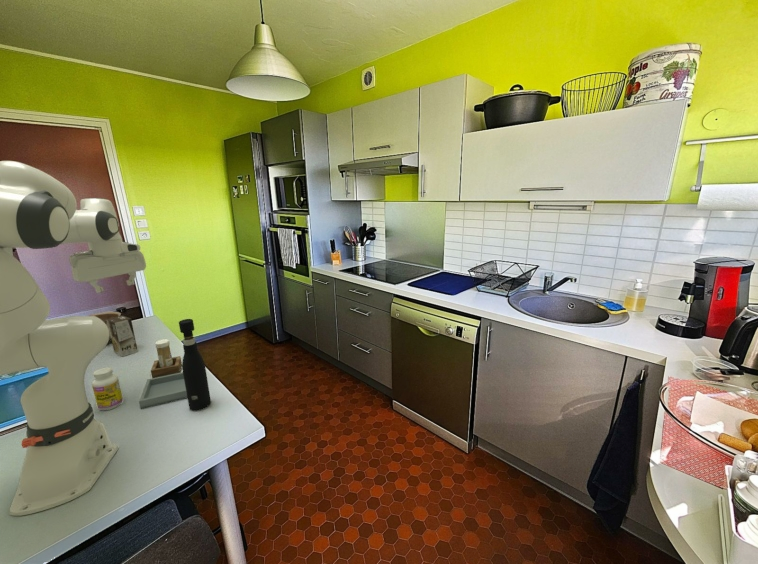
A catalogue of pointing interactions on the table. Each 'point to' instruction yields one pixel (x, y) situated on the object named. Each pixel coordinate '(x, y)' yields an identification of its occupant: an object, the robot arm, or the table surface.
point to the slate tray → (163, 390)
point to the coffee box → (122, 335)
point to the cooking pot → (106, 317)
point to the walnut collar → (166, 368)
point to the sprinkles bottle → (164, 353)
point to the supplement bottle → (106, 389)
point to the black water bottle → (194, 369)
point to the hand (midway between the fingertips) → (116, 288)
